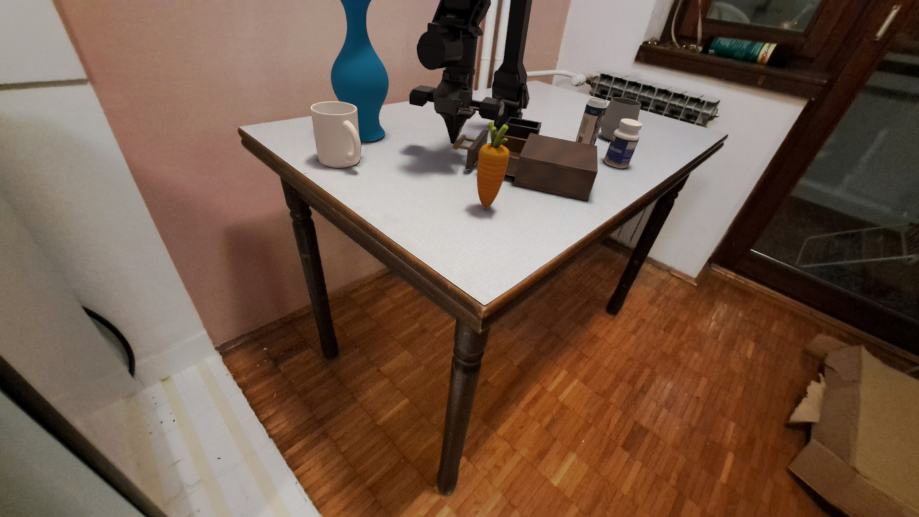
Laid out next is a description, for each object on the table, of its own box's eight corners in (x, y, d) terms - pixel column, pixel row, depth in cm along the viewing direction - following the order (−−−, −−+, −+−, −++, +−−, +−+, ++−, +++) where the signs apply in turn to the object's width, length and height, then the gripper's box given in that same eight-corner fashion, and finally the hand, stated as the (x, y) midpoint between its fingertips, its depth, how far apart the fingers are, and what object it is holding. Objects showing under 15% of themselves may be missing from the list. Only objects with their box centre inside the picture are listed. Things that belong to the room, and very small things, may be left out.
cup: (624, 147, 97) (639, 108, 91) (591, 137, 101) (603, 99, 95) (634, 139, 103) (648, 102, 97) (602, 130, 107) (614, 94, 101)
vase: (396, 130, 90) (395, -8, 73) (379, 148, 81) (372, -7, 63) (350, 123, 91) (338, -16, 74) (327, 140, 82) (307, -16, 64)
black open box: (500, 148, 88) (504, 123, 84) (505, 140, 92) (509, 116, 89) (533, 154, 86) (538, 129, 83) (536, 146, 91) (541, 122, 87)
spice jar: (593, 155, 90) (609, 104, 83) (573, 151, 91) (588, 101, 83) (591, 148, 94) (607, 99, 87) (572, 145, 94) (587, 96, 87)
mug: (379, 169, 72) (376, 116, 66) (341, 179, 67) (334, 123, 61) (347, 149, 78) (342, 99, 72) (310, 157, 74) (302, 104, 67)
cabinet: (513, 185, 73) (519, 155, 69) (524, 159, 84) (529, 132, 80) (587, 201, 70) (597, 171, 66) (588, 172, 81) (597, 145, 78)
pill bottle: (598, 160, 88) (613, 118, 82) (616, 158, 90) (631, 117, 84) (615, 170, 84) (631, 126, 78) (633, 167, 86) (650, 125, 80)
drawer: (445, 164, 75) (447, 144, 72) (463, 143, 85) (465, 125, 83) (530, 183, 72) (535, 162, 69) (538, 159, 82) (543, 140, 80)
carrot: (470, 201, 66) (481, 115, 56) (496, 202, 66) (512, 118, 57) (473, 215, 62) (485, 126, 53) (501, 216, 62) (518, 128, 53)
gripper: (397, 62, 65) (398, 147, 74) (498, 79, 62) (485, 166, 71) (420, 54, 73) (418, 131, 83) (510, 69, 70) (497, 147, 80)
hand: (453, 143), depth 79 cm, fingers closed
